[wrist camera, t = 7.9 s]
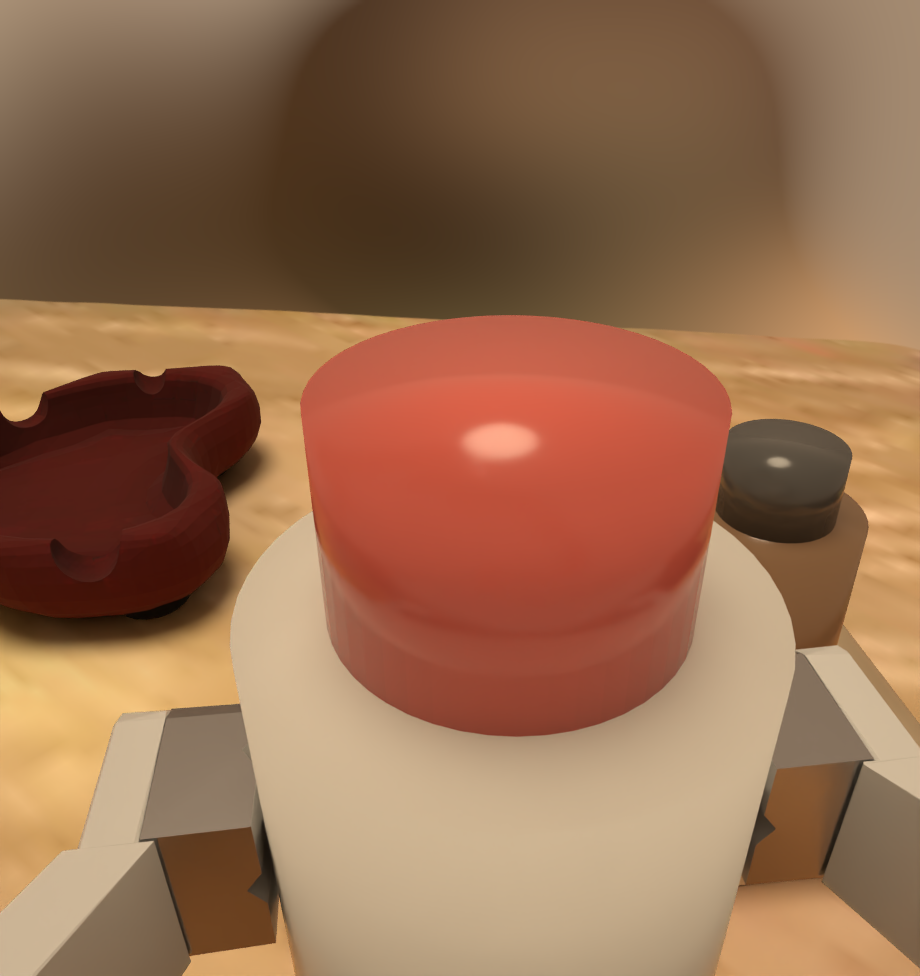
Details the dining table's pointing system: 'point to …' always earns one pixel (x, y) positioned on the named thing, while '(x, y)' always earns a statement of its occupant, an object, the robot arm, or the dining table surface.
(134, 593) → the ashtray
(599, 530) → the white shaker
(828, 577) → the brown soy bottle
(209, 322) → the dining table surface
